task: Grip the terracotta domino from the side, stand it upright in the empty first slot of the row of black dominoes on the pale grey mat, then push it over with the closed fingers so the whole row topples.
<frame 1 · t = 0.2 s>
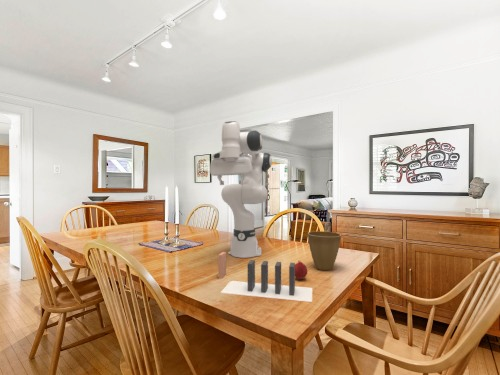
hand: (231, 184, 123), 39 cm above the table, tool pointing down, fingers open, 8 cm apart
domino 2: (251, 288, 99), resting on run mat
plant pot: (324, 268, 123), on the table
domino 3: (264, 289, 97), resting on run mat
onion: (300, 280, 108), on the table
domino 4: (278, 291, 96), resting on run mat
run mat: (267, 291, 97), on the table
terracotta domino: (222, 277, 112), on the table
domino 5: (292, 292, 95), resting on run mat
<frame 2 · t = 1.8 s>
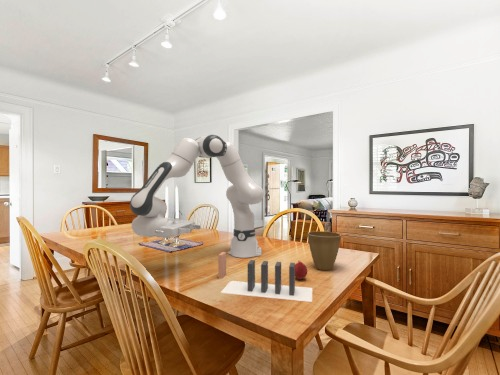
hand: (195, 229, 114), 20 cm above the table, tool horizontal, fingers open, 8 cm apart
nothing on the table moved.
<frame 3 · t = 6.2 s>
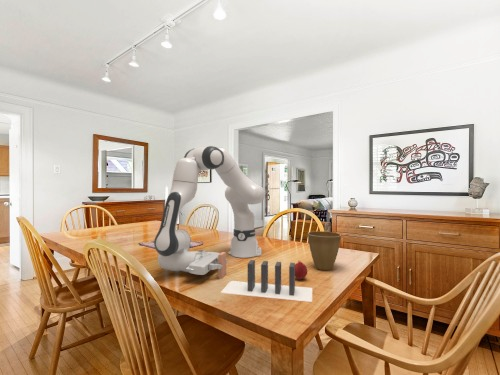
hand: (224, 264, 112), 6 cm above the table, tool horizontal, fingers closed on terracotta domino, 5 cm apart
terracotta domino: (222, 277, 112), on the table, touching gripper
everything else where it was.
when the fingers open (7 cm above the table, at t = 12.0 s): terracotta domino stays where it is, resting on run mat.
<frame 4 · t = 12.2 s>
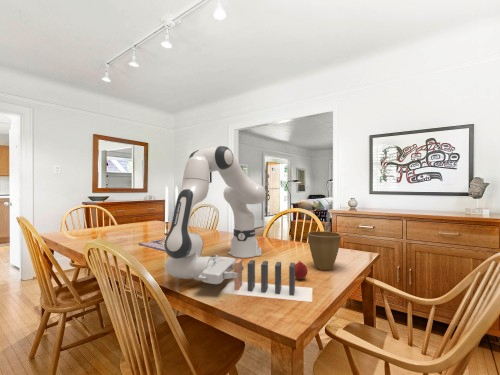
hand: (240, 271, 99), 7 cm above the table, tool horizontal, fingers open, 7 cm apart
terracotta domino: (238, 287, 100), resting on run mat
everything else where it was.
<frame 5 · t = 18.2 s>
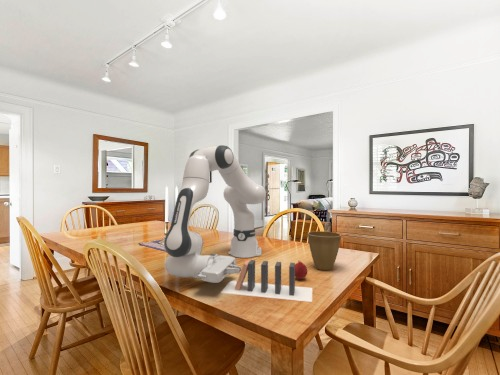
hand: (240, 270, 99), 7 cm above the table, tool horizontal, fingers closed
terracotta domino: (238, 286, 100), point 1 cm above the table, tilted 20°, touching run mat
everything else where it was.
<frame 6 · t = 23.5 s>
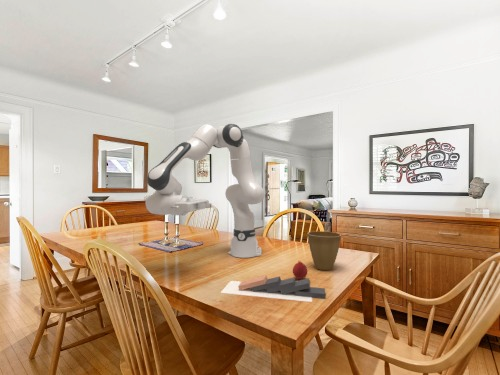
hand: (210, 205, 112), 30 cm above the table, tool horizontal, fingers closed
domino 2: (253, 286, 98), point 1 cm above the table, tilted 72°, touching domino 3, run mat, terracotta domino
domino 3: (268, 288, 97), point 1 cm above the table, tilted 71°, touching domino 2, domino 4, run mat
domino 4: (282, 289, 96), point 1 cm above the table, tilted 71°, touching domino 3, domino 5
terracotta domino: (240, 285, 100), point 1 cm above the table, tilted 72°, touching domino 2, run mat
domino 5: (295, 290, 95), point 1 cm above the table, tilted 90°, touching domino 4, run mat
everything else where it was.
at the end: terracotta domino inside the target area (0.4 cm from its centre), point 1.1 cm above the table; terracotta domino tilted 72°; domino 5 tilted 90° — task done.
